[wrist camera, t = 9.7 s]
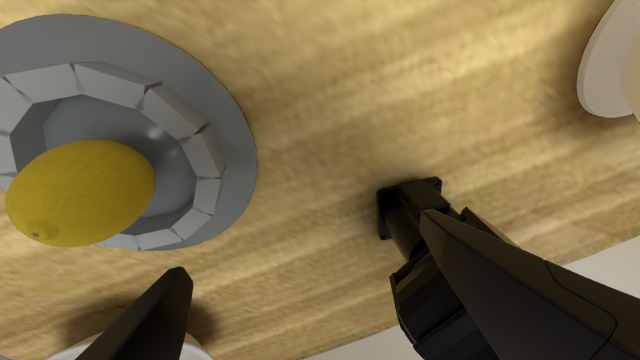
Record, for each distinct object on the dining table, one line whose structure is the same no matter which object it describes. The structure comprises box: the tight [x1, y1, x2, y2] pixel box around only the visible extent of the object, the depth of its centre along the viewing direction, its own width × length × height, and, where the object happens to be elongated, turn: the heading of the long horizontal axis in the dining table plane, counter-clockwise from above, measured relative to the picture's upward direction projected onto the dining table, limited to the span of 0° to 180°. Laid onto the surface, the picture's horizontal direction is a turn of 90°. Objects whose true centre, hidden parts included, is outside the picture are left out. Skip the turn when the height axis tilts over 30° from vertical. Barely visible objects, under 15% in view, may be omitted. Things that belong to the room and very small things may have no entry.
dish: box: [43, 331, 214, 360], centre depth 26 cm, size 18×14×5 cm
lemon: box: [5, 139, 156, 247], centre depth 14 cm, size 6×6×8 cm
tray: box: [0, 14, 257, 251], centre depth 17 cm, size 18×18×3 cm
